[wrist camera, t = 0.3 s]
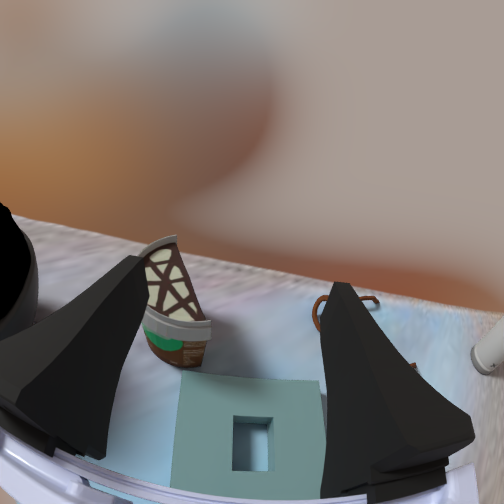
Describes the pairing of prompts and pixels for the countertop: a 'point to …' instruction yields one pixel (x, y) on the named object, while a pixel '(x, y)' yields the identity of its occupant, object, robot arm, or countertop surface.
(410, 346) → the countertop surface
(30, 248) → the bowl of black rocks
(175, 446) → the holder plate
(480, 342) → the travel mug
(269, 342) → the countertop surface
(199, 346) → the food container
